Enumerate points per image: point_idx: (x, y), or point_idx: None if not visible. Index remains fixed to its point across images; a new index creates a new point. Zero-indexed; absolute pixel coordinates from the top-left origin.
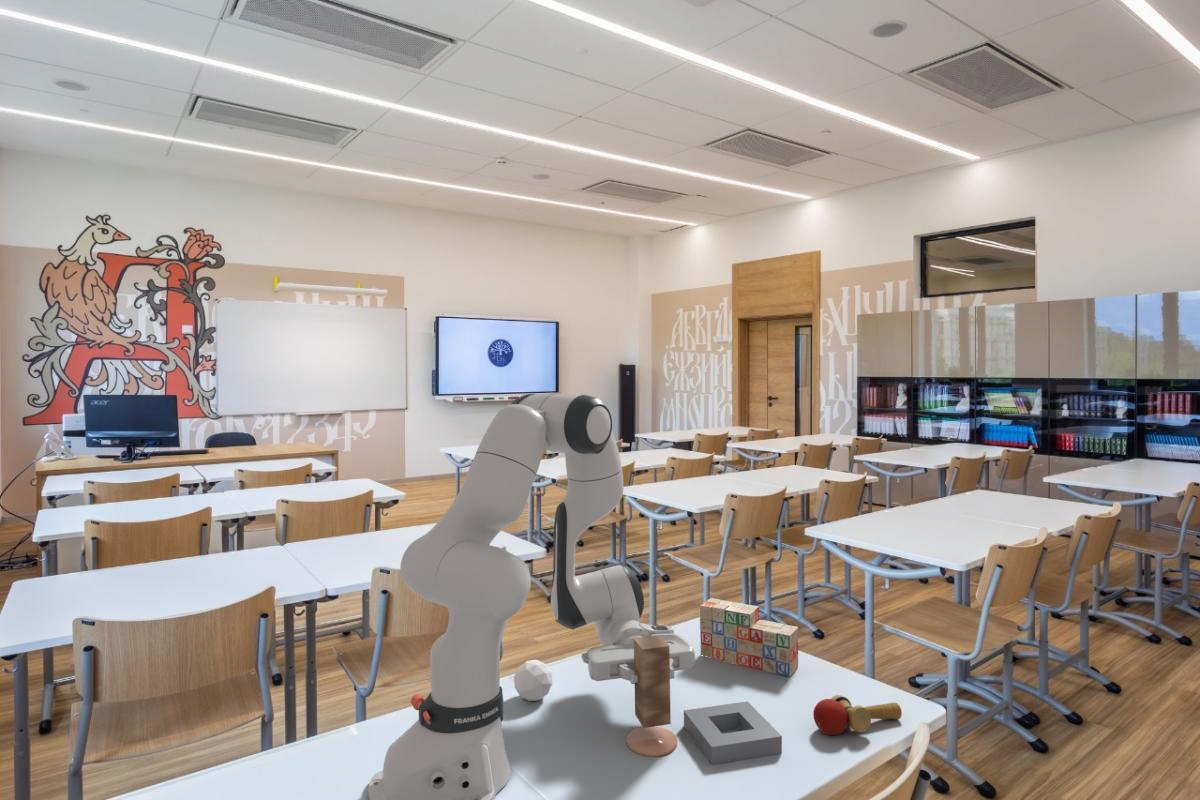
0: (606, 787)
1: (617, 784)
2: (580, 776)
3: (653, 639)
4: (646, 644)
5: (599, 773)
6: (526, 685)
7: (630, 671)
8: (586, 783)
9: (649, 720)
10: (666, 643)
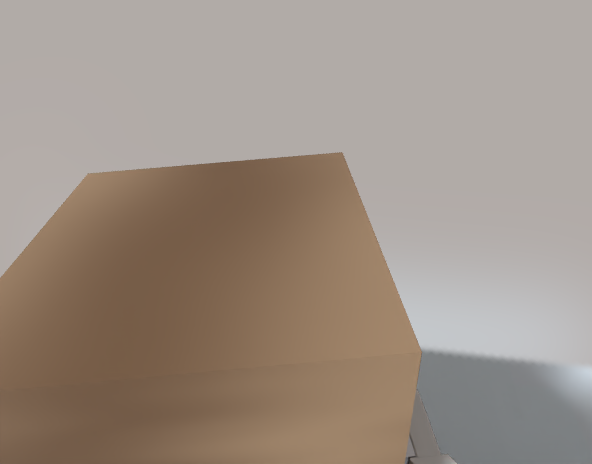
0: (468, 364)
1: (439, 371)
2: (562, 420)
3: (124, 285)
4: (274, 200)
5: (502, 426)
6: None
7: (428, 436)
8: (531, 386)
9: None
10: (69, 202)
